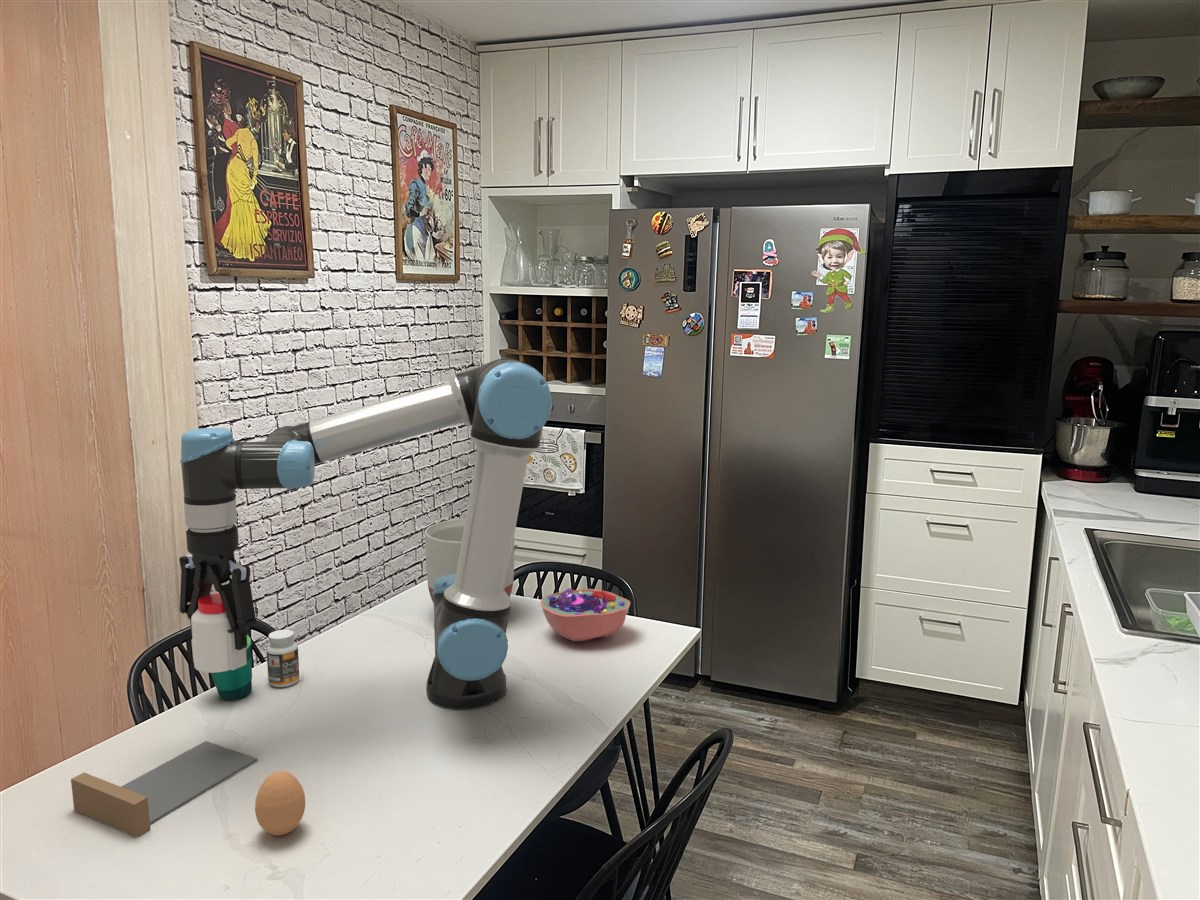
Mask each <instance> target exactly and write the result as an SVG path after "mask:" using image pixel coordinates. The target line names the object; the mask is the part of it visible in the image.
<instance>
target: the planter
mask: <svg viewBox="0 0 1200 900" xmlns="http://www.w3.org/2000/svg"><path fill="white" fill-rule="evenodd" d="M465 520H466V518H458V519H450V520H446V521H445V520H443V521H441V522H436V523H434V524H432V525H429V526H428V527H426V529H425V531H424V541H425V542H424V544H425V546H424V547H425V549H424V550H425V565H426V567H425V569H426V581H427V587H428V593H429V596H430V600H431V601H432V604H434V595H432V593H433V588H434V582H435V581H436V579H438V578H440V577H442V576H445V575H450V574H456V573H457V567H458V561H459V555H460V549H461V543H462V537H463V532H464V526H465ZM514 572H515V538H514V539H513V545H512V551H511V556H510V562H509V567H508V573H507V579H506V584H505V592H506V594H507V595H508V596H509V598H510V597H511V595H512V590H513V587H514V575H515V573H514ZM510 599H511V598H510Z"/></svg>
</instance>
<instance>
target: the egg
mask: <svg viewBox="0 0 1200 900" xmlns="http://www.w3.org/2000/svg"><path fill="white" fill-rule="evenodd" d="M254 803H255V805H254V813H255V817H256V820H257V823H258V825H259V826H260V827H261V828H262V830H264V831H265V832H266V833H267V834H270V835H273V836H276V837H277V836H285V835H286V834H289V833H291V832H292V831H293V830H294V829H296V827H297V826H298V825H299V824H300V822H301V820H302V819H303V816H304V813H305V809H306V795H305V791H304V788H303V786H302V784H301V782H300V781H299V780H298V778H297V777H296V776H295V775H293V774H292V773H291V772H288V771H285V770H279V771H278V770H277V771H275V772H272V773H271V774H269V775H268V776H267V777H266V778H265V779H264V780H263V782H262V784H261V785H260V787H259V788H258V792H257V794H256V796H255V802H254Z"/></svg>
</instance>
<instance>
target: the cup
mask: <svg viewBox="0 0 1200 900" xmlns="http://www.w3.org/2000/svg"><path fill="white" fill-rule="evenodd" d="M251 645H252V639H251V637H250V635H248V634H247V647H246V661H247V664H246V665H244V666H242V667H239V668H237V669H235V670H228V671H224V672H217V673H210V674H211V677H212V680H213V683H214V686H215V688H216V691H217V693H218V697H219V699H221V700H223V701H228V702H229V701H230V702H232V701H238V700H242V699H244V698H246V697H248V696H249V695H250V694H251V693H252V689H253V683H252V680H253V669H252V667H253V665H252V663H253V662H252V653H251Z"/></svg>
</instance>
